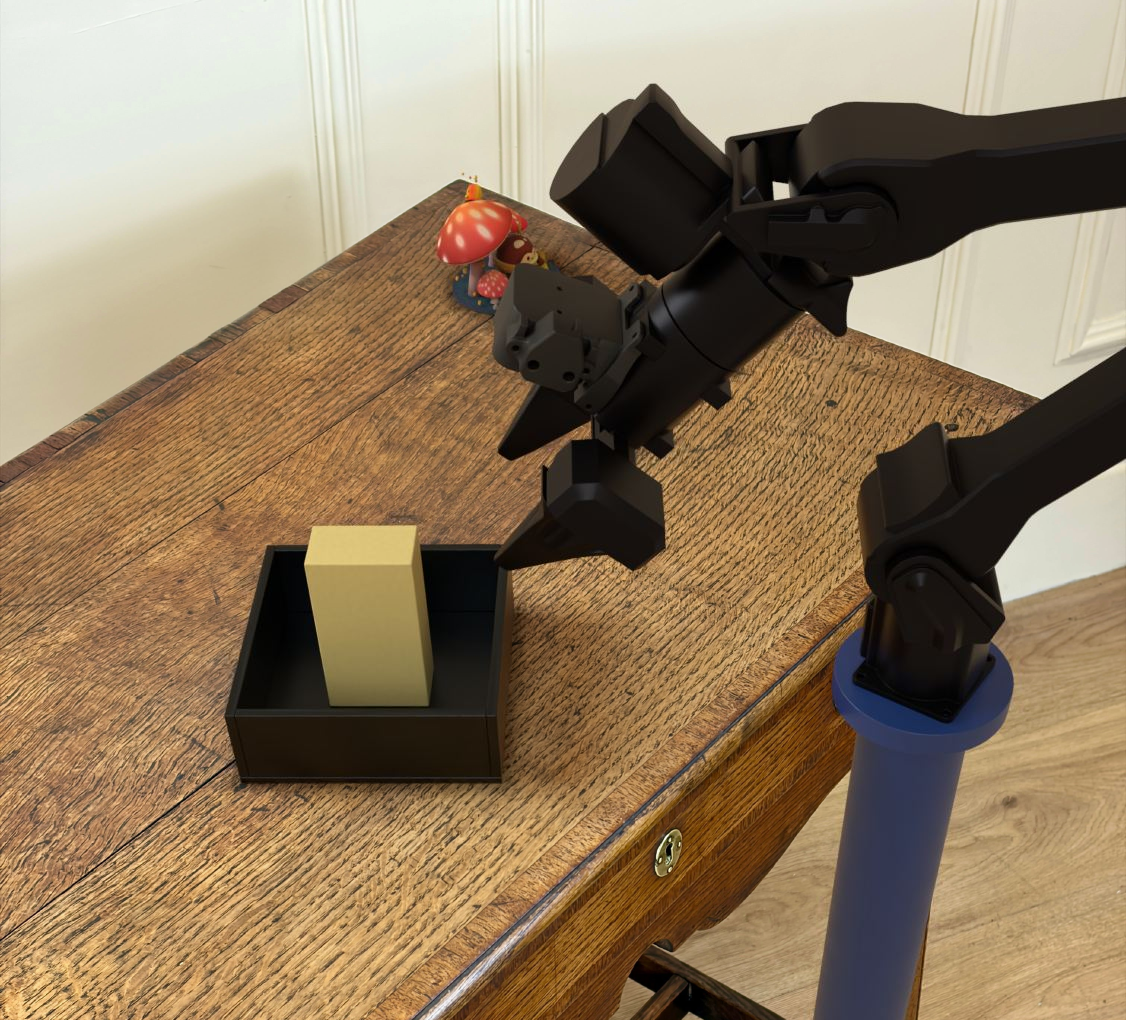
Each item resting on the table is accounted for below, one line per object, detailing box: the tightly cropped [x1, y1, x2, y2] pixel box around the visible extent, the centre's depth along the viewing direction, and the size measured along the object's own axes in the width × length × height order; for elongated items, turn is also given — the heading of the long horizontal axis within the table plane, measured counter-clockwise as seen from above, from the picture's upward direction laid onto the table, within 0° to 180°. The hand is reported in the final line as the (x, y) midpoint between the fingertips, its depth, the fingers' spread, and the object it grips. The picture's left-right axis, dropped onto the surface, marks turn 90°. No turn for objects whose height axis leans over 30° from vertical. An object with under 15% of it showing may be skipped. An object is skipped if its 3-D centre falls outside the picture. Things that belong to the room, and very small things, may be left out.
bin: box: [223, 543, 516, 784], centre depth 94 cm, size 15×15×6 cm
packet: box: [304, 524, 434, 706], centre depth 92 cm, size 4×6×11 cm, turn 88°
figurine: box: [436, 172, 562, 316], centre depth 127 cm, size 12×9×8 cm
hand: (501, 508), depth 87 cm, fingers open, 9 cm apart
